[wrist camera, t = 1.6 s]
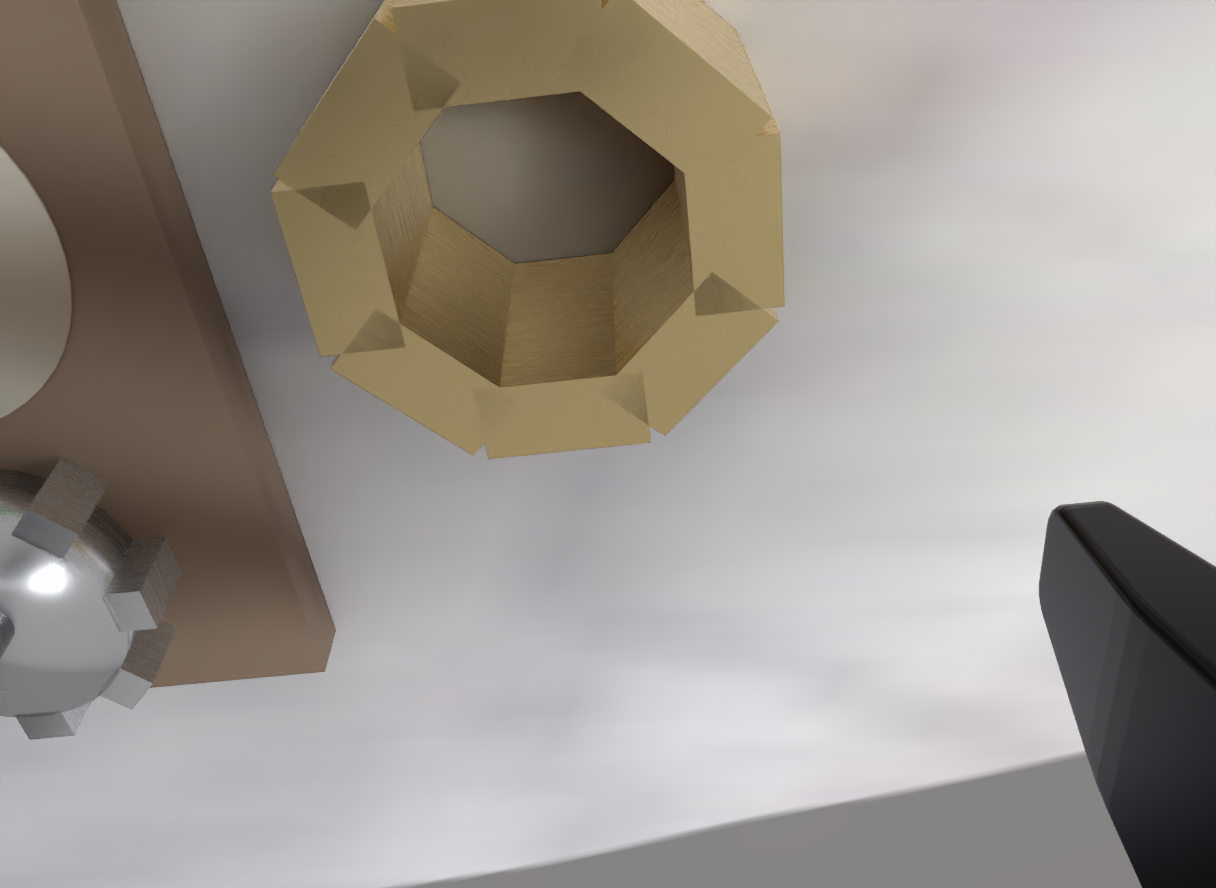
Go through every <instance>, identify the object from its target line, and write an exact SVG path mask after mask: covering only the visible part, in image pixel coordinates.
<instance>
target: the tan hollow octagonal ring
mask: <svg viewBox="0 0 1216 888" xmlns="http://www.w3.org/2000/svg"><path fill="white" fill-rule="evenodd" d="M578 91H580V92H582V93H583V94H584V95H585V96H587V97H588V98H589V99H590V100H592V101H593V102H594V103H596V104H597V105H598V106H599V107H601V108H602V109H603V110H604V111H606V112H607V113H608V114H610V115H611V116H612V117H613V118H615V119H616V120H617V121H619V122H620V123H621V124H622V125H624V126H625V127H626V128H627V129H629V130H630V131H631V132H633V133H634V134H635V135H636V136H638V137H639V138H640V139H641V140H643V141H644V142H645V143H647V144H648V145H649V146H650V147H652V148H653V149H654V150H656V151H657V152H658V153H659V154H661V155H662V156H663V157H664V158H666V159H667V160H668V161H670V162H671V163H672V164H673V165H674V176H675V180H674V181H673V182H672V183H671V185H670V186H669V187H668V188H667V189H666V190H665V192H664V193H663V194H662V195H661V196H660V197H659V199H658V200H657V201H656V202H655V203H654V204H653V205H652V207H651V208H650V209H649V210H648V211H647V212H646V214H645V215H644V216H643V217H642V218H641V219H640V221H639V222H638V223H637V224H636V225H635V226H634V228H633V229H632V230H631V231H630V232H629V233H628V234H627V236H626V237H625V238H624V239H623V240H622V241H621V243H620V244H619V245H618V246H617V247H616V248H615V250H614V251H613V252H612V253H608V254H599V255H590V256H581V257H572V258H563V259H554V260H545V261H536V262H527V263H518V264H515V263H513V262H512V261H510V260H509V259H507V258H506V257H504V256H503V255H502V254H500V253H499V252H497V251H496V250H494V249H493V248H491V247H490V246H489V245H487V244H486V243H484V242H483V241H481V240H480V239H479V238H477V237H476V236H474V235H473V234H471V233H470V232H468V231H467V230H466V229H464V228H463V227H461V226H460V225H458V224H457V223H455V222H454V221H453V220H451V219H450V218H448V217H447V216H445V215H444V214H442V213H441V212H440V211H438V210H437V209H435V208H434V207H433V203H432V199H431V194H430V189H429V185H428V180H427V175H426V171H425V166H424V162H423V157H422V152H421V148H420V143H419V141H420V140H421V139H422V137H423V136H424V134H425V133H426V132H427V130H428V129H429V127H430V126H431V125H432V123H433V122H434V120H435V119H436V118H437V116H438V115H439V113H440V112H441V111H442V109H443V108H444V107H452V106H460V105H469V104H477V103H486V102H494V101H502V100H511V99H519V98H528V97H536V96H544V95H553V94H561V93H570V92H578ZM273 176H274V177H276V178H277V179H278V181H277V182H276V184H275V186H274V187H273V189H272V191H271V192H270V193H271V196H272V199H273V203H274V206H275V209H276V213H277V216H278V219H279V223H280V226H281V229H282V233H283V236H284V239H285V242H286V246H287V249H288V252H289V256H290V259H291V262H292V266H293V269H294V272H295V276H296V279H297V282H298V285H299V289H300V292H301V295H302V299H303V302H304V305H305V309H306V312H307V315H308V319H309V322H310V325H311V328H312V332H313V335H314V338H315V342H316V345H317V348H318V352H319V355H320V356H330V355H335V358H334V360H333V363H332V366H331V368H330V369H331V370H333V371H334V372H336V373H338V374H339V375H341V376H342V377H344V378H346V379H347V380H349V381H351V382H352V383H354V384H356V385H357V386H359V387H361V388H362V389H364V390H366V391H367V392H369V393H371V394H372V395H374V396H375V397H377V398H379V399H380V400H382V401H384V402H385V403H387V404H389V405H390V406H392V407H394V408H395V409H397V410H399V411H400V412H402V413H403V414H405V415H407V416H408V417H410V418H412V419H413V420H415V421H417V422H418V423H420V424H422V425H423V426H425V427H427V428H428V429H430V430H432V431H433V432H435V433H436V434H438V435H440V436H441V437H443V438H445V439H446V440H448V441H450V442H451V443H453V444H455V445H456V446H458V447H460V448H461V449H463V450H464V451H466V452H468V453H469V454H471V455H474V454H475V453H476V452H477V450H478V449H479V448H480V447H481V446H482V445H483V444H484V443H485V446H486V450H487V455H488V459H494V458H504V457H514V456H523V455H533V454H543V453H553V452H563V451H573V450H582V449H592V448H602V447H612V446H622V445H631V444H641V443H651V441H650V429H649V426H650V427H652V428H653V429H655V430H656V431H658V432H659V433H661V434H662V435H664V436H665V435H666V434H667V433H668V432H669V431H670V430H671V429H672V428H673V427H674V426H675V425H676V424H677V423H678V422H679V421H680V420H681V419H682V418H683V417H684V416H685V415H686V414H687V413H688V412H689V411H690V410H691V409H692V408H693V407H694V406H695V405H696V404H697V403H698V402H699V401H700V400H701V399H702V398H703V397H704V396H705V395H706V394H707V393H708V392H709V391H710V390H711V389H712V388H713V387H714V386H715V385H716V384H717V383H718V382H719V381H720V380H721V379H722V378H723V377H724V376H725V375H726V374H727V373H728V372H729V371H730V370H731V369H732V368H733V366H734V365H735V364H736V363H737V362H738V361H739V360H740V359H741V358H742V357H743V356H744V355H745V354H746V353H747V352H748V351H749V350H750V349H751V348H752V347H753V346H754V345H755V344H756V343H757V342H758V341H759V340H760V339H761V338H762V337H763V336H764V335H765V334H766V333H767V332H768V331H769V330H770V329H771V328H772V327H773V326H774V325H775V324H776V323H777V322H778V318H777V315H776V311H775V308H776V307H785V304H784V266H783V228H782V190H781V151H780V132H779V130H778V127H777V125H776V122H775V120H774V118H773V115H772V113H771V110H770V108H769V106H768V103H767V101H766V99H765V96H764V94H763V91H762V89H761V87H760V84H759V82H758V79H757V77H756V75H755V72H754V70H753V67H752V65H751V63H750V60H749V58H748V55H747V53H746V51H745V48H744V46H743V44H742V43H741V41H740V38H739V36H738V33H737V31H736V30H735V29H734V28H733V27H732V26H731V25H729V24H728V23H727V22H726V21H725V20H724V19H723V18H721V17H720V16H719V15H718V14H717V13H716V12H714V11H713V10H712V9H711V8H710V7H709V6H708V5H706V4H705V3H704V2H703V1H702V0H384V1H383V3H382V4H381V6H380V7H379V9H378V11H377V12H376V14H375V15H374V17H373V18H372V20H371V21H370V23H369V24H368V26H367V27H366V29H365V31H364V32H363V34H362V35H361V37H360V38H359V40H358V41H357V43H356V44H355V46H354V48H353V49H352V51H351V52H350V54H349V55H348V57H347V58H346V60H345V61H344V63H343V64H342V66H341V68H340V69H339V71H338V72H337V74H336V75H335V77H334V78H333V80H332V81H331V83H330V85H329V86H328V88H327V89H326V91H325V93H324V94H323V96H322V97H321V99H320V101H319V102H318V104H317V105H316V107H315V109H314V110H313V112H312V113H311V115H310V116H309V118H308V120H307V121H306V123H305V124H304V126H303V128H302V129H301V131H300V132H299V134H298V136H297V137H296V139H295V140H294V142H293V144H292V145H291V147H290V148H289V150H288V151H287V153H286V155H285V156H284V158H283V159H282V161H281V163H280V164H279V166H278V167H277V169H276V171H275V172H274V174H273Z"/></svg>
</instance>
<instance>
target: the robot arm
mask: <svg viewBox="0 0 1216 888" xmlns="http://www.w3.org/2000/svg"><path fill="white" fill-rule="evenodd" d="M1039 598H1040V605H1041V610H1042V614H1043V617H1044V621H1045V624H1046V627H1047V630H1048V633H1049V636H1050V640H1051V643H1052V646H1053V649H1054V652H1055V656H1056V659H1057V662H1058V665H1059V668H1060V672H1061V675H1062V678H1063V681H1064V684H1065V688H1066V691H1067V694H1068V697H1069V700H1070V704H1071V707H1072V710H1073V713H1074V716H1075V720H1076V723H1077V726H1078V729H1079V732H1080V736H1081V739H1082V742H1083V745H1084V748H1085V752H1086V755H1087V758H1088V760H1089V763H1090V766H1091V769H1092V772H1093V775H1094V778H1095V781H1096V784H1097V786H1098V788H1099V791H1100V793H1101V796H1102V798H1103V801H1104V803H1105V805H1106V808H1107V810H1108V812H1109V814H1110V817H1111V819H1112V821H1113V824H1114V826H1115V828H1116V830H1117V833H1118V835H1119V837H1120V839H1121V841H1122V844H1123V846H1124V848H1125V850H1126V853H1127V855H1128V857H1129V859H1130V862H1131V864H1132V866H1133V868H1134V870H1135V873H1136V875H1137V877H1138V879H1139V882H1140V884H1141V886H1142V888H1216V567H1215V566H1214V565H1212V564H1211V563H1209V562H1207V561H1206V560H1204V559H1202V558H1201V557H1199V556H1197V555H1196V554H1194V553H1192V552H1191V551H1189V550H1188V549H1186V548H1184V547H1183V546H1181V545H1179V544H1178V543H1176V542H1174V541H1173V540H1171V539H1170V538H1168V537H1166V536H1165V535H1163V534H1161V533H1160V532H1158V531H1156V530H1155V529H1153V528H1151V527H1150V526H1148V525H1147V524H1145V523H1143V522H1142V521H1140V520H1138V519H1137V518H1135V517H1133V516H1132V515H1130V514H1129V513H1127V512H1125V511H1124V510H1122V509H1120V508H1119V507H1117V506H1115V505H1113V504H1111V503H1109V502H1104V501H1095V502H1085V503H1075V504H1065V505H1060V506H1058V507H1056V508H1055V509H1054V510H1052V512H1051V514H1050V517H1049V519H1048V524H1047V531H1046V538H1045V545H1044V552H1043V559H1042V566H1041V573H1040V580H1039Z"/></svg>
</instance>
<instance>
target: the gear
mask: <svg viewBox="0 0 1216 888" xmlns="http://www.w3.org/2000/svg"><path fill="white" fill-rule="evenodd" d="M109 483H110V481H108V480H106V479H104V478H102V477H100V476H99V475H97V474H95V473H93V472H91V471H89V470H87V469H85V468H83V467H81V466H79V465H77V464H76V463H74V462H72V461H70V460H68V459H66V458H64V457H62V458H61V459H60V461H59V462H58V464H57V465H56V467H55V468H54V470H53V471H52V473H51V474H50V476H49V477H48V479H44V478H41V477H38V476H34V475H30V474H26V473H22V472H18V471H11V470H5V469H0V716H6V717H16V718H17V720H18V721H19V723H20V725H21V726H22V728H23V730H24V731H25V733H26V734H27V736H28V738H29V739H41V738H52V737H63V736H74V735H75V733H76V731H77V729H78V727H79V725H80V723H81V721H82V719H83V717H84V715H85V713H86V711H87V708H88V706H89V704H90V702H91V701H92V700H94V699H95V698H97V697H98V696H99V695H100V696H103V697H105V698H107V699H109V700H112V701H114V702H116V703H118V704H121V705H123V706H125V707H127V708H130V709H133V708H134V706H135V705H136V704H137V703H138V701H139V700H140V699H141V698H142V696H143V695H144V694H145V693H146V691H147V690H148V689H149V688H150V686H151V685H152V684H153V682H154V680H155V677H156V675H157V673H158V670H159V668H160V666H161V663H162V661H163V659H164V656H165V654H166V652H167V649H168V647H169V645H170V643H171V640H172V638H173V636H174V633H175V631H176V629H177V626H175V625H172V624H170V623H168V622H166V621H164V620H162V617H163V614H164V612H165V610H166V608H167V606H168V603H169V601H170V599H171V597H172V594H173V592H174V590H175V588H176V586H177V583H178V581H179V579H180V577H181V575H182V571H181V569H180V567H179V564H178V562H177V560H176V558H175V555H174V553H173V551H172V548H171V546H170V544H169V542H168V539H167V537H157V538H147V539H137V540H132V539H131V537H130V536H129V535H128V533H127V532H126V531H125V530H124V529H123V528H122V527H121V526H120V525H119V523H118V522H117V521H116V520H114V519H113V518H112V517H111V516H110V515H109V514H107V513H106V512H105V511H104V510H103V509H101V508H100V507H98V506H97V504H98V502H99V500H100V498H101V497H102V495H103V493H104V492H105V490H106V488H107V487H108V485H109Z"/></svg>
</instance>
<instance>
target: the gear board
mask: <svg viewBox="0 0 1216 888" xmlns="http://www.w3.org/2000/svg"><path fill="white" fill-rule="evenodd" d="M62 457H64V458H66V459H68V460H70V461H72V462H74V463H76V464H77V465H79V466H81V467H83V468H85V469H87V470H89V471H91V472H93V473H95V474H97V475H99V476H100V477H102V478H104V479H106V480H108V481H110V483H109V485H108V487H107V488H106V490H105V492H104V493H103V495H102V497H101V498H100V500H99V502H98V504H97V506H98V507H100V508H101V509H103V510H104V511H105V512H106V513H107V514H109V515H110V516H111V517H112V518H113V519H114V520H116V521H117V522H118V523H119V525H120V526H121V527H122V528H123V529H124V530H125V531H126V532H127V533H128V535H129V536H130V537H131V539H132V540H137V539H147V538H157V537H167V539H168V542H169V544H170V546H171V548H172V551H173V553H174V555H175V558H176V560H177V562H178V564H179V567H180V569H181V571H182V575H181V577H180V579H179V581H178V583H177V586H176V588H175V590H174V592H173V594H172V597H171V599H170V601H169V603H168V606H167V608H166V610H165V612H164V614H163V617H162V620H164V621H166V622H168V623H170V624H172V625H175V626H177V629H176V631H175V633H174V636H173V638H172V640H171V643H170V645H169V647H168V649H167V652H166V654H165V656H164V659H163V661H162V663H161V666H160V668H159V670H158V673H157V675H156V677H155V680H154V682H153V684H152V685H151V686H150V688H152V687H163V686H174V685H185V684H196V683H206V682H217V681H228V680H239V679H250V678H260V677H271V676H282V675H293V674H304V673H315V672H325V669H326V665H327V661H328V658H329V654H330V650H331V646H332V642H333V639H334V635H335V631H336V629H335V627H334V624H333V621H332V618H331V615H330V612H329V609H328V607H327V604H326V601H325V598H324V595H323V592H322V589H321V587H320V584H319V581H318V578H317V575H316V572H315V569H314V567H313V564H312V561H311V558H310V555H309V552H308V549H307V546H306V544H305V541H304V538H303V535H302V532H301V529H300V526H299V524H298V521H297V518H296V515H295V512H294V509H293V506H292V504H291V501H290V498H289V495H288V492H287V489H286V486H285V484H284V481H283V478H282V475H281V472H280V469H279V466H278V464H277V461H276V458H275V455H274V452H273V449H272V446H271V444H270V441H269V438H268V435H267V432H266V429H265V426H264V423H263V421H262V418H261V415H260V412H259V409H258V406H257V403H256V401H255V398H254V395H253V392H252V389H251V386H250V383H249V381H248V378H247V375H246V372H245V369H244V366H243V363H242V361H241V358H240V355H239V352H238V349H237V346H236V343H235V341H234V338H233V335H232V332H231V329H230V326H229V323H228V320H227V318H226V315H225V312H224V309H223V306H222V303H221V300H220V298H219V295H218V292H217V289H216V286H215V283H214V280H213V278H212V275H211V272H210V269H209V266H208V263H207V260H206V258H205V255H204V252H203V249H202V246H201V243H200V240H199V238H198V235H197V232H196V229H195V226H194V223H193V220H192V218H191V215H190V212H189V209H188V206H187V203H186V200H185V197H184V195H183V192H182V189H181V186H180V183H179V180H178V177H177V175H176V172H175V169H174V166H173V163H172V160H171V157H170V155H169V152H168V149H167V146H166V143H165V140H164V137H163V135H162V132H161V129H160V126H159V123H158V120H157V117H156V115H155V112H154V109H153V106H152V103H151V100H150V97H149V95H148V92H147V89H146V86H145V83H144V80H143V77H142V74H141V72H140V69H139V66H138V63H137V60H136V57H135V54H134V52H133V49H132V46H131V43H130V40H129V37H128V34H127V32H126V29H125V26H124V23H123V20H122V17H121V14H120V12H119V9H118V6H117V3H116V0H0V469H5V470H11V471H18V472H22V473H26V474H30V475H34V476H38V477H41V478H44V479H48V477H49V476H50V474H51V473H52V471H53V470H54V468H55V467H56V465H57V464H58V462H59V461H60V459H61V458H62Z"/></svg>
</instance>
